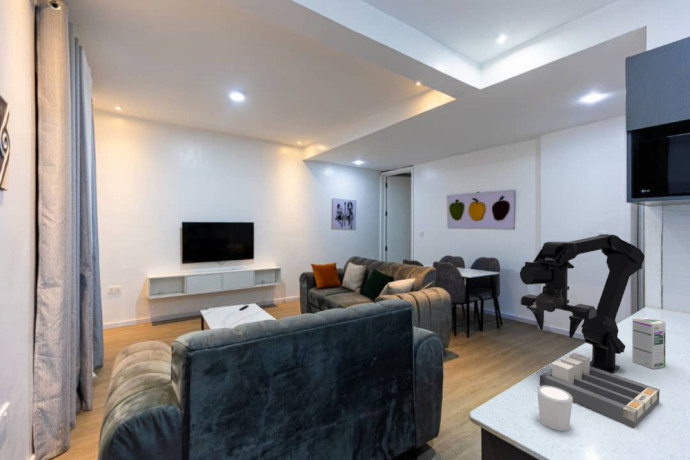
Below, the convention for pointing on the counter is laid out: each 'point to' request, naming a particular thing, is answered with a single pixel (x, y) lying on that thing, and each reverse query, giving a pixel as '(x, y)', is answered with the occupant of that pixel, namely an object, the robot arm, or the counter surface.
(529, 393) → the counter surface
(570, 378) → the cream rectangular block
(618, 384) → the switch bank
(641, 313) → the counter surface
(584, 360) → the tab
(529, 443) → the counter surface
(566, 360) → the beige rectangular block
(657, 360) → the syrup box
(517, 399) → the counter surface
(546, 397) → the white cup
